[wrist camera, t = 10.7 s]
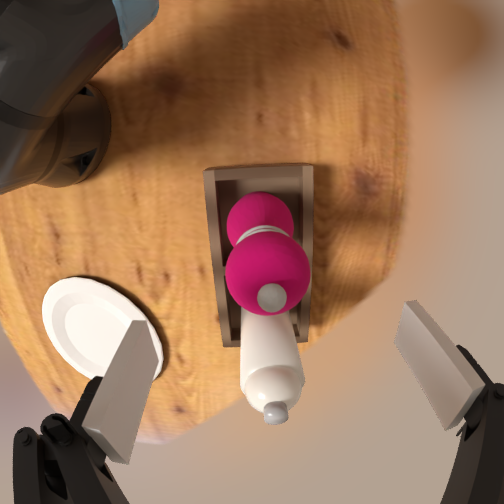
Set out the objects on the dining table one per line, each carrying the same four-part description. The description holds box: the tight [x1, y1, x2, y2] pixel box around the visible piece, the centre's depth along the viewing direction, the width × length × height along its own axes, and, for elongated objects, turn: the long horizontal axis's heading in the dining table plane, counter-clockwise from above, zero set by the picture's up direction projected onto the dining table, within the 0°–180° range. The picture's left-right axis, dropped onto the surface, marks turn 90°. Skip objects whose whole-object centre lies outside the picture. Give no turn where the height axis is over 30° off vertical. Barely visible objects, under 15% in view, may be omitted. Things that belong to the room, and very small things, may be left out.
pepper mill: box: [225, 191, 311, 316], centre depth 25 cm, size 7×7×20 cm
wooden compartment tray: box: [203, 163, 313, 347], centre depth 36 cm, size 24×12×4 cm, turn 3°
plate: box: [42, 277, 164, 380], centre depth 43 cm, size 25×25×2 cm
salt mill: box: [240, 307, 305, 425], centre depth 30 cm, size 6×6×20 cm
